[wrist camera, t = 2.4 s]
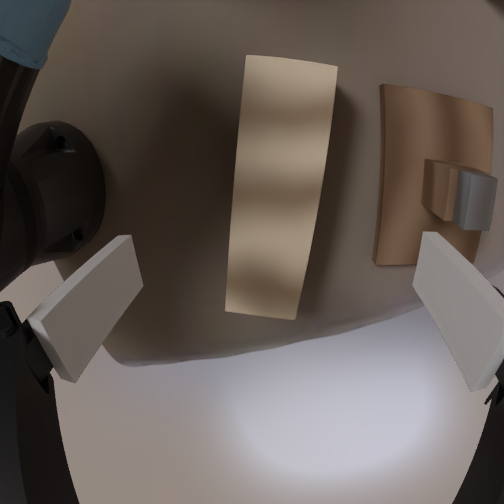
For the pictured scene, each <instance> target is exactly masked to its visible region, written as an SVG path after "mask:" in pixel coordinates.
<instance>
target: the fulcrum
mask: <svg viewBox="0 0 504 504" xmlns="http://www.w3.org/2000/svg"><path fill="white" fill-rule="evenodd" d="M380 107H381V159H380V183H379V199H378V212H377V223H376V233H375V241H374V250H373V258H372V260H373V262H374V263H375V265H407V264H417V262H418V257H419V251H420V246H421V240H422V234H423V232H438V233H439V234H440V235H441V236H442V237H443V238H444V239H445V240H447V241H448V242H449V243H450V244H451V245H452V246H453V247H454V248H455V249H456V250H457V251H458V252H459V253H461V254H462V255H463V256H464V257H465V258H466V259H467V260H468V261H469V262H474V260H475V256H476V252H477V248H478V244H479V240H480V235H481V230H485V231H489V230H490V225H491V220H492V214H493V209H494V203H495V196H496V189H497V181H498V179H497V178H494V177H492V176H491V174H490V171H491V159H492V140H493V108H491V107H488V106H485V105H481V104H478V103H475V102H471V101H468V100H464V99H460V98H456V97H452V96H448V95H444V94H440V93H435V92H430V91H425V90H420V89H415V88H409V87H403V86H396V85H389V84H382V85H380Z"/></svg>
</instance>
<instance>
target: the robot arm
mask: <svg viewBox="0 0 504 504" xmlns="http://www.w3.org/2000/svg"><path fill="white" fill-rule="evenodd" d="M70 4H71V0H0V292H1V291H2V290H3V289H4V288H5V287H6V286H8V285H9V284H10V283H11V282H12V281H13V280H15V279H16V278H17V277H18V276H19V275H20V274H22V273H23V272H24V271H25V270H27V269H28V268H29V267H30V266H33V265H37V264H41V263H45V262H49V261H53V260H57V259H61V258H65V257H68V256H70V255H72V254H74V253H76V252H77V251H78V250H80V249H81V248H82V247H83V246H85V245H86V244H87V243H88V242H89V241H90V240H91V239H92V238H93V237H94V235H95V234H96V232H97V230H98V228H99V226H100V223H101V221H102V217H103V212H104V205H105V187H104V179H103V174H102V170H101V166H100V163H99V160H98V158H97V155H96V153H95V151H94V149H93V147H92V146H91V144H90V143H89V141H88V140H87V139H86V137H85V136H84V135H83V134H82V133H81V132H80V131H79V130H78V129H76V128H75V127H73V126H72V125H70V124H68V123H65V122H61V121H50V122H44V123H38V124H35V125H32V126H30V127H28V128H26V129H25V130H23V131H22V132H20V133H19V134H18V135H16V134H17V131H18V128H19V124H20V121H21V118H22V115H23V112H24V109H25V106H26V103H27V101H28V98H29V95H30V93H31V90H32V87H33V85H34V83H35V80H36V78H37V75H38V73H39V71H40V69H42V68H43V66H44V64H45V62H46V61H47V57H48V55H47V52H48V50H49V48H50V46H51V43H52V41H53V39H54V37H55V35H56V33H57V31H58V29H59V27H60V25H61V23H62V21H63V20H64V18H65V16H66V14H67V12H68V10H69V7H70ZM143 286H144V285H143V282H142V278H141V274H140V270H139V266H138V262H137V258H136V253H135V249H134V245H133V240H132V236H131V235H118V236H117V237H115V238H114V239H113V240H112V241H111V242H109V243H108V244H107V245H106V246H104V247H103V248H102V249H101V250H100V251H98V252H97V253H96V254H95V255H94V256H93V257H91V258H90V259H89V260H88V261H87V262H86V263H84V264H83V265H82V266H81V267H80V268H79V269H78V270H76V271H75V272H74V273H73V274H72V275H71V276H70V277H69V278H68V279H66V280H65V281H64V282H63V283H62V284H61V285H60V286H59V287H58V288H57V289H56V290H55V291H54V292H53V293H51V294H50V295H49V296H48V297H47V298H46V299H45V300H44V301H43V302H42V303H41V304H40V305H39V306H38V307H37V308H36V309H35V310H34V311H33V312H32V313H31V314H30V315H29V316H28V317H27V319H26V320H25V321H24V322H23V323H21V321H20V320H19V317H18V315H17V313H16V311H15V309H14V307H13V305H12V303H11V302H10V301H3V302H0V504H79V501H78V498H77V495H76V492H75V489H74V485H73V482H72V479H71V475H70V471H69V468H68V464H67V459H66V455H65V451H64V446H63V442H62V437H61V432H60V426H59V420H58V414H57V407H56V399H55V390H54V380H53V378H52V376H51V374H50V371H51V370H52V368H53V367H54V368H55V370H56V371H57V373H58V374H59V376H60V378H61V379H64V380H67V381H70V382H73V383H76V381H77V380H78V378H79V377H80V375H81V374H82V372H83V371H84V369H85V368H86V366H87V365H88V363H89V362H90V360H91V359H92V357H93V356H94V354H95V353H96V351H97V350H98V349H99V347H100V346H101V344H102V343H103V341H104V340H105V338H106V337H107V336H108V334H109V333H110V331H111V330H112V328H113V327H114V326H115V324H116V323H117V321H118V320H119V319H120V317H121V316H122V315H123V313H124V312H125V310H126V309H127V308H128V306H129V305H130V304H131V302H132V301H133V300H134V298H135V297H136V296H137V294H138V293H139V292H140V290H141V289H142V288H143ZM412 286H413V287H414V289H415V291H416V292H417V294H418V295H419V297H420V299H421V300H422V302H423V303H424V305H425V307H426V308H427V310H428V312H429V313H430V315H431V317H432V318H433V320H434V322H435V324H436V325H437V327H438V329H439V331H440V332H441V334H442V336H443V338H444V340H445V341H446V343H447V345H448V347H449V349H450V351H451V353H452V355H453V356H454V358H455V360H456V362H457V364H458V366H459V368H460V370H461V372H462V374H463V376H464V378H465V381H466V383H467V385H468V387H469V389H470V391H471V392H473V391H476V390H480V389H483V388H486V387H487V386H488V385H489V383H490V382H491V380H492V379H493V377H494V375H496V377H497V378H498V380H499V382H498V383H497V385H496V386H495V388H494V389H493V391H492V392H491V394H490V395H489V396H488V398H487V399H486V401H485V404H487V403H488V402H489V401H490V400H491V399H492V400H491V404H490V408H489V412H488V416H487V419H486V422H485V426H484V429H483V432H482V435H481V438H480V441H479V444H478V447H477V449H476V452H475V455H474V457H473V460H472V462H471V465H470V467H469V469H468V472H467V474H466V476H465V479H464V481H463V483H462V485H461V487H460V489H459V491H458V493H457V496H456V497H455V500H454V501H453V503H452V504H504V295H503V294H502V293H501V291H500V290H499V289H497V288H496V287H494V286H493V285H491V284H490V283H489V282H488V281H487V280H486V278H485V277H484V276H483V275H482V274H481V273H480V272H479V271H478V270H477V269H476V268H475V267H474V266H473V265H472V264H471V263H470V262H469V261H468V260H467V259H466V258H465V257H464V256H463V255H462V254H461V253H459V252H458V251H457V250H456V249H455V248H454V247H453V246H452V245H451V244H450V243H449V242H448V241H447V240H445V239H444V238H443V237H442V236H441V235H440V234H439V233H438V232H423V234H422V240H421V246H420V251H419V257H418V262H417V267H416V271H415V276H414V281H413V285H412Z"/></svg>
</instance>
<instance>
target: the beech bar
mask: <svg viewBox="0 0 504 504" xmlns="http://www.w3.org/2000/svg"><path fill="white" fill-rule="evenodd" d="M337 69H338V67H337V66H332V65H327V64H321V63H316V62H309V61H303V60H296V59H288V58H279V57H269V56H257V55H246V62H245V71H244V81H243V90H242V100H241V110H240V120H239V131H238V141H237V152H236V164H235V176H234V188H233V200H232V213H231V226H230V240H229V255H228V270H227V286H226V302H225V311H228V312H235V313H242V314H249V315H256V316H264V317H272V318H280V319H288V320H295V318H296V313H297V309H298V305H299V300H300V296H301V291H302V287H303V282H304V278H305V273H306V268H307V263H308V259H309V254H310V249H311V244H312V238H313V233H314V228H315V223H316V217H317V212H318V206H319V200H320V194H321V189H322V183H323V176H324V170H325V164H326V157H327V150H328V143H329V136H330V129H331V121H332V114H333V105H334V97H335V88H336V79H337Z"/></svg>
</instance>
